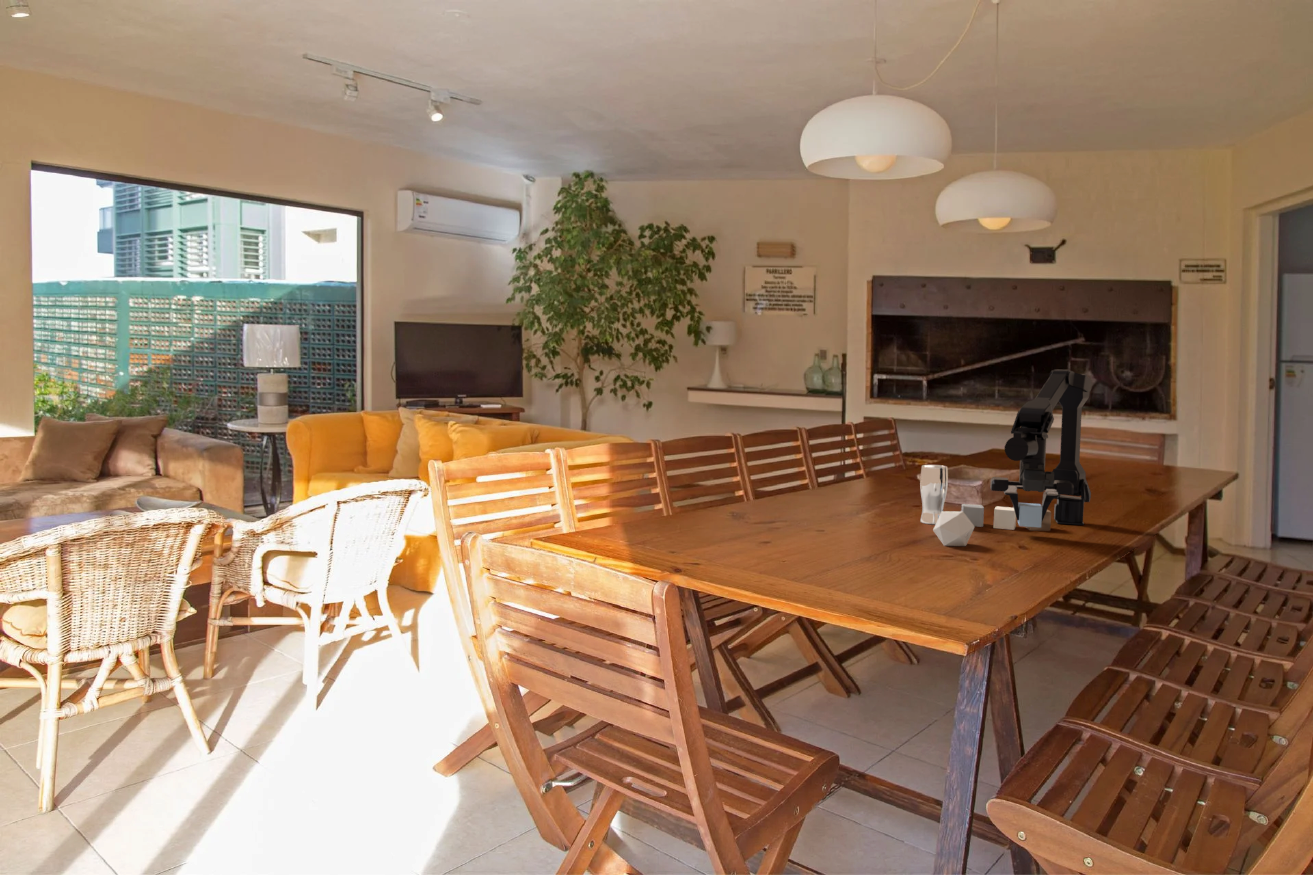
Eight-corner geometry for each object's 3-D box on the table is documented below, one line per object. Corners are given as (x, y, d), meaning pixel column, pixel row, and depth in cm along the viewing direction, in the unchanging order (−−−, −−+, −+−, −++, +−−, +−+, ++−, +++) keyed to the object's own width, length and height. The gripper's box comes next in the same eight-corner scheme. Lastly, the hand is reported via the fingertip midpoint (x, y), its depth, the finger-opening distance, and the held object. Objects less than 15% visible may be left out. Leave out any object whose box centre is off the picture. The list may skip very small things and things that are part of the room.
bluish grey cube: (1039, 523, 235) (1040, 503, 234) (1041, 527, 230) (1042, 507, 230) (1017, 522, 236) (1018, 502, 236) (1019, 526, 232) (1020, 505, 231)
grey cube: (980, 523, 251) (981, 504, 250) (983, 527, 246) (984, 508, 245) (960, 522, 252) (961, 504, 251) (962, 526, 247) (963, 507, 246)
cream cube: (1015, 526, 247) (1016, 507, 246) (1013, 530, 242) (1015, 510, 242) (995, 525, 249) (996, 506, 248) (993, 528, 244) (994, 509, 244)
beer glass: (949, 525, 247) (951, 468, 246) (922, 524, 247) (924, 467, 246) (941, 520, 254) (944, 464, 253) (915, 519, 254) (917, 464, 253)
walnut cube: (1044, 527, 246) (1045, 508, 246) (1050, 531, 241) (1051, 511, 241) (1024, 526, 247) (1025, 507, 246) (1029, 530, 242) (1030, 511, 241)
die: (966, 552, 217) (985, 517, 219) (933, 533, 218) (952, 498, 220) (954, 558, 224) (973, 524, 227) (922, 538, 226) (941, 505, 228)
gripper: (994, 459, 227) (990, 523, 228) (1078, 463, 221) (1074, 529, 223) (991, 454, 237) (988, 516, 239) (1072, 458, 232) (1068, 521, 233)
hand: (1029, 520), depth 233 cm, fingers closed on bluish grey cube, 5 cm apart
